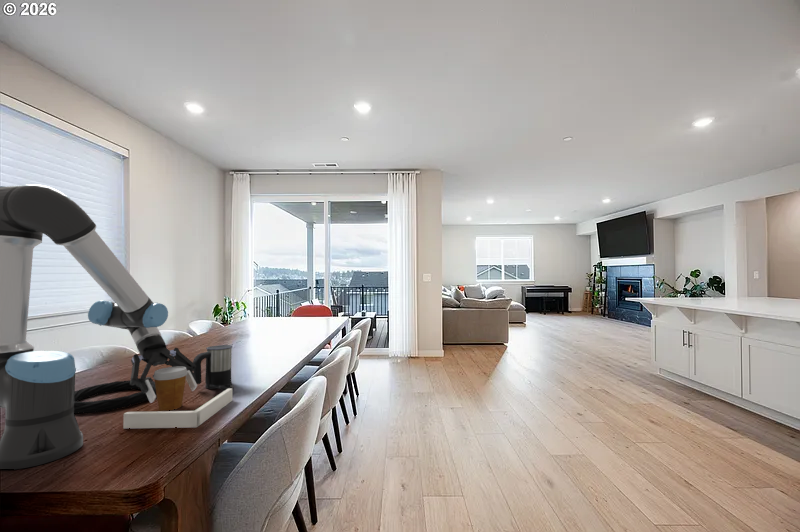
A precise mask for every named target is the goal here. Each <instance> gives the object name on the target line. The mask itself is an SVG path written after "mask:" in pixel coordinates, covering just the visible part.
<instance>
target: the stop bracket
mask: <svg viewBox="0 0 800 532" xmlns="http://www.w3.org/2000/svg"><path fill="white" fill-rule="evenodd" d="M231 402H233V390H232V388H228V389H226V390H225V391H224V390H222V392H220V393H219V394H216V396H215V397H213V398H211V399H210V400H208V401H207V402H205V403H204V404H203V405H201V406H200V407H198V408H196V409H195V410H170V411H160V410H156V411H127V412H124V413H123V426H122V429H125V430H126V429H129V428H130V429H173V428H174V429H176V428H175V427H177V429H179V428H181V429H182V428H183V429H184V428H187V429H188V428H191V429H192V428H198V427H199V426H200V425H202V424H204V422H206V421H207V420H208V419H210V418H211V417H213V416H214V415H215V414H216V413H218V412H219V411H221V410H222V409H223V408H224V407H225V406H227V405H229V404H230V403H231Z"/></svg>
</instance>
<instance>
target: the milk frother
mask: <svg viewBox="0 0 800 532" xmlns="http://www.w3.org/2000/svg"><path fill="white" fill-rule="evenodd" d="M232 348H233V346H232V345H231V344H219V345H211V346H207V347H206V351H205V352H201V353H198V354H197V355H196V356H195V357H194V358H193V361H192V362H193V363H194V364H195V365H196V367H195V369H194V370H193V371H192V372H193V373H194V375H195V379H194V380H195V382H196V384H197V385H200V384H202V361H203V360H205V387H204V388H205V389H212V390H216V389H217V390H221V391H225V390H226V389H228V388H232V391H233V390H234V386H233V381H232V351H233V350H232Z"/></svg>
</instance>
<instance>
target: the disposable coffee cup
mask: <svg viewBox="0 0 800 532" xmlns="http://www.w3.org/2000/svg"><path fill="white" fill-rule="evenodd" d="M187 373H188V371H187V369H186V367H181V366H177V367H172V366H169V367H168V366H167V367H162V368H159V369H156V370H155V371H154V373H153V374H152V379H153V381H154V382H155V387H156V394H157V395H156V400H157V408H158V411H169V410H170V411H175V410H177V409H179V408H181V407H182V406H183V400H184V392H185V385H186V375H187ZM174 409H175V410H174Z"/></svg>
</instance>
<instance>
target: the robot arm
mask: <svg viewBox="0 0 800 532" xmlns="http://www.w3.org/2000/svg"><path fill="white" fill-rule="evenodd" d="M96 228H97V225H96V223H95V222H94V220H93V219H92V218H91V217H90V216H89V215H88V213H87V212H86V211H85V210H84V209H83V208H82V207H81V206H80V205H79V204H77V203H76V202H75V201H74V200H73V199H71V198H70V197H69V196H67V195H66V194H64V193H63V192H61V191H59V190H57V189H55V188H53V187H50V186H47V185H43V184H31V183H30V184H23V185H12V186H11V185H9V186H5V185H2V186H0V408H2V409H5V412H4V413H5V417H4V420H5V423H4V430H3V432H2V434H1V436H0V469H14V470H21V469H27V468H31V467H32V468H33V467H37V466H41V465H43V464H47V463H51V462H53V461H56V460H59V459H62V458H64V457H67V456H69V455H71V454H73V453H75V452H76V451H78V450H79V449H81V448H82V447H83V446H84V434H83V432H82V431H81V430H80V426H79V424H78V421H77V419H76V416H75V415H76V414H74V397H75V391H76V390H75V389H76V372H77V367H76V361H75V357H74V356H73V354H71V353H69V352H66V351H60V350H35V349H34V348H35V347H34V345H32V344H30V343H29V342H28V341H27V332H28V319H29V318H28V317H29V308H30V307H29V306H30V293H31V281H32V280H31V279H32V270H33V269H32V268H33V254H34V248H35V247H37V246H39V245H40V244H42V243H43V236H44V235H46V236H47V237H48V238H49V239H50V240H51V241H52V242H53V243H54V244H55V245H57V246H63V247H64V248H65V249H66V250H67V252H69V254H70V255H71V256H72V257H73V258H74V259H75V260H76V262H78V264H80V266H81V267H82V268H83V269H84V270H85V271H86V272H87V273H88V274H89V276H90V277H91V278H92V279H93V280H94V281H95V282H96V283H97V285H99V287H101V288H102V290H103V291H104V292H105V293H106V294H107V296H108V297H109V298H110V299H111V300H113V301H111V300H103V299H100V300H97V301H95V302H94V303H93V304H92V305H91V306H90V307H89V310H88V313H87V319H88V320H89V322H91V323H92V324H95V325H98V326H103V327H104V326H105V327H109V328H110V327H111V328H116V329H117V328H118V329H122V330H128V332H129V334H130V336H131V337H132V339H133V342H134V344H135V346H136V349H137V351H138V353H139V355H138V353H135V354H133V356H132V358H131V360H130V362H131V365H132V367H131V374H130V385H134V384H135V385H136V386H137V387H140V389H139V390H141V391H140V392H142V393H146V395H147V397H148V401H149V403H150V404H152V403H154V402H155V400H156V399H157V395H155V393H154V391H153V389H152V386H151V384H150V382H149V380H145V378H146V377H148V374H149V372H150V369H151V367H156V366H160V365H161V366H162V365H166V366H169V367H177V366H181V367H186V369H187V371H188V373H187V375H186V380H185V382H187V385H188V387H189V389H190V390H191V392H194V391H196V389H197V387H198V384H196V382H195V380H194V379H195V375H194V373H193V370H194V369H195V367H196V365H195V364H194V363H193V361H192V360H190V359H189V358H188V357H187V356H186V355H184V354H183V353H182V352H181V351H180V348H179V347H174V349H171V350H170V349H168V348H167V344H166V342H165V339H164V338H163V336H162V334H161V332H160V330H159V328H158V327H161V326H163V325H164V324H165V323H166V322H167V320H168V317H169V310H168V308H167V306H166V305H165V304H164V303H161V302H160V303H159V302H153V300H152V299H151V298H150V297H149V296H148V295H147V293H146V292H145V291H144V290H143V288H142V287H141V285H139V283H138V282H137V280H136V279H135V278H134V277H133V275H131V273H130V272H129V271H128V270H127V269H126V267H125V266H124V265H123V263H122V262H121V261H120V259H118V257H117V255H115V253H114V252H113V251H112V250H111V248H110V247H109V246H108V245H107V243H106V242H105V241H104V240H103V239H102V238H101V235H99V234H98V232H97V231H96ZM34 350H35V351H34ZM141 361H143V362H145V363H146V364H145V366H144V369H143V370H142V373H141V375H140V377H139V372H140V363H141Z"/></svg>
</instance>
